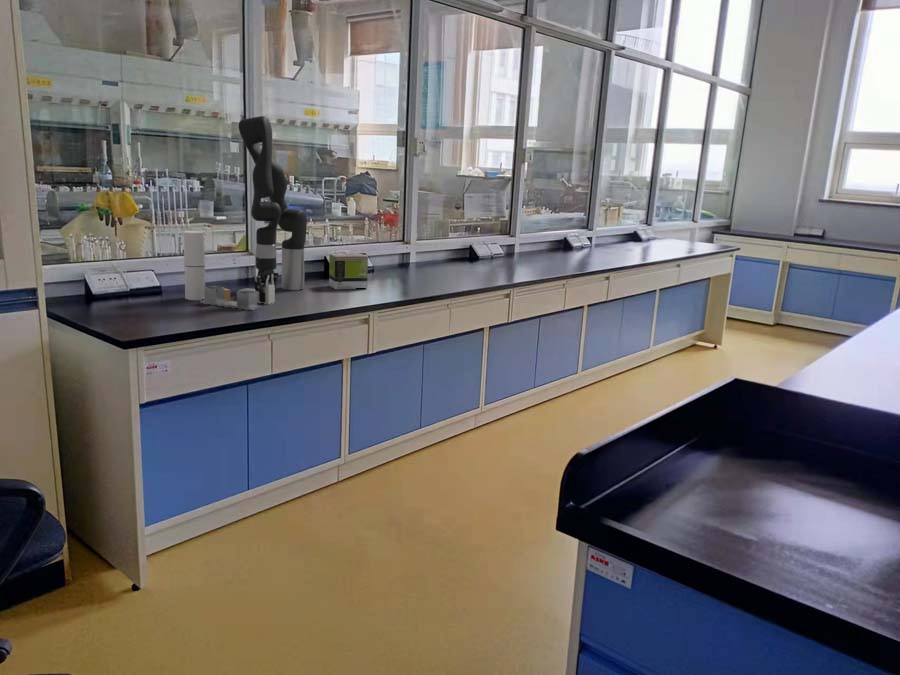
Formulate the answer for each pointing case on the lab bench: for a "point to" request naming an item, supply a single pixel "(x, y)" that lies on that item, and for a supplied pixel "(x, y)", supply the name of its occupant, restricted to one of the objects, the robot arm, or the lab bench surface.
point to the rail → (217, 297)
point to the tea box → (348, 271)
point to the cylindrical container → (194, 265)
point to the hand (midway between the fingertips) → (265, 300)
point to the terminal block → (227, 294)
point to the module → (268, 294)
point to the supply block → (248, 289)
